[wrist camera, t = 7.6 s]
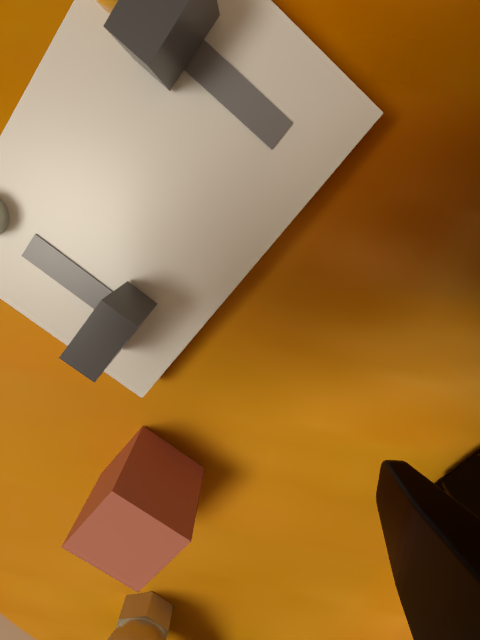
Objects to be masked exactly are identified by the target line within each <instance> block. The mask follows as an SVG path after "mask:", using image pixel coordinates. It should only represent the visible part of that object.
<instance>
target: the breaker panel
mask: <svg viewBox="0 0 480 640" xmlns="http://www.w3.org/2000/svg"><path fill="white" fill-rule="evenodd" d="M117 1H118V0H74V2H73V4H72V5H71V7H70V9H69V11H68V13H67V15H66V16H65V18H64V20H63V22H62V24H61V26H60V28H59V29H58V31H57V33H56V35H55V37H54V39H53V40H52V42H51V44H50V46H49V48H48V50H47V51H46V53H45V55H44V57H43V59H42V61H41V62H40V64H39V66H38V68H37V70H36V72H35V74H34V75H33V77H32V79H31V81H30V83H29V85H28V86H27V88H26V90H25V92H24V94H23V96H22V97H21V99H20V101H19V103H18V105H17V107H16V108H15V110H14V112H13V114H12V116H11V118H10V120H9V121H8V123H7V125H6V127H5V129H4V131H3V132H2V134H1V136H0V299H2V300H3V301H5V302H6V303H7V304H9V305H10V306H12V307H13V308H15V309H16V310H17V311H19V312H20V313H22V314H23V315H24V316H26V317H27V318H29V319H30V320H32V321H33V322H34V323H36V324H37V325H39V326H40V327H42V328H43V329H44V330H46V331H47V332H49V333H50V334H51V335H53V336H54V337H56V338H57V339H59V340H60V341H61V342H63V343H64V344H66V345H67V346H68V345H69V344H70V342H71V341H72V339H73V338H74V337H75V335H76V334H77V333H78V331H79V330H80V328H81V327H82V326H83V324H84V323H85V322H86V320H87V319H88V317H89V316H90V315H91V313H92V312H93V311H94V309H95V308H96V306H97V305H98V304H99V302H100V301H101V300H102V299H103V298H105V297H106V296H107V295H109V294H110V293H112V292H113V291H114V290H116V289H117V288H119V287H120V286H121V285H123V284H124V283H126V282H127V281H128V282H130V283H131V284H132V285H134V286H135V287H136V288H138V289H139V290H140V291H142V292H143V293H144V294H146V295H147V296H148V297H149V298H151V299H152V300H153V301H155V302H156V303H157V305H156V307H155V308H154V309H153V310H152V312H151V313H150V314H149V315H148V317H147V318H146V319H145V321H144V322H143V323H142V324H141V326H140V327H139V328H138V329H137V331H136V332H135V333H134V335H133V336H132V337H131V338H130V340H129V341H128V342H127V344H126V345H125V346H124V347H123V349H122V350H121V351H120V352H119V354H118V355H117V356H116V357H115V358H114V360H113V361H112V362H111V363H110V364H109V365H108V367H107V368H106V369H105V370H104V372H105V373H107V374H108V375H110V376H111V377H113V378H114V379H115V380H117V381H118V382H120V383H121V384H123V385H124V386H125V387H127V388H128V389H130V390H131V391H132V392H134V393H135V394H137V395H138V396H140V397H141V398H143V397H144V395H145V394H146V393H147V392H148V391H149V389H150V388H151V387H152V386H153V385H154V384H155V382H156V381H157V380H158V379H159V378H160V376H161V375H162V374H163V373H164V372H165V371H166V369H167V368H168V367H169V366H170V365H171V363H172V362H173V361H174V360H175V359H176V358H177V356H178V355H179V354H180V353H181V352H182V350H183V349H184V348H185V347H186V346H187V345H188V343H189V342H190V341H191V340H192V339H193V337H194V336H195V335H196V334H197V333H198V332H199V330H200V329H201V328H202V327H203V326H204V324H205V323H206V322H207V321H208V320H209V319H210V317H211V316H212V315H213V314H214V313H215V311H216V310H217V309H218V308H219V307H220V306H221V304H222V303H223V302H224V301H225V300H226V298H227V297H228V296H229V295H230V294H231V293H232V291H233V290H234V289H235V288H236V287H237V285H238V284H239V283H240V282H241V281H242V280H243V278H244V277H245V276H246V275H247V274H248V272H249V271H250V270H251V269H252V268H253V267H254V265H255V264H256V263H257V262H258V261H259V259H260V258H261V257H262V256H263V255H264V254H265V252H266V251H267V250H268V249H269V248H270V246H271V245H272V244H273V243H274V242H275V241H276V239H277V238H278V237H279V236H280V235H281V233H282V232H283V231H284V230H285V229H286V228H287V226H288V225H289V224H290V223H291V222H292V220H293V219H294V218H295V217H296V216H297V215H298V213H299V212H300V211H301V210H302V209H303V207H304V206H305V205H306V204H307V203H308V202H309V200H310V199H311V198H312V197H313V196H314V194H315V193H316V192H317V191H318V190H319V189H320V187H321V186H322V185H323V184H324V183H325V181H326V180H327V179H328V178H329V177H330V176H331V174H332V173H333V172H334V171H335V170H336V168H337V167H338V166H339V165H340V164H341V163H342V161H343V160H344V159H345V158H346V157H347V155H348V154H349V153H350V152H351V151H352V150H353V148H354V147H355V146H356V145H357V144H358V142H359V141H360V140H361V139H362V138H363V137H364V135H365V134H366V133H367V132H368V131H369V129H370V128H371V127H372V126H373V125H374V124H375V122H376V121H377V120H378V119H379V118H380V116H381V115H382V114H383V112H382V111H381V110H380V109H379V108H378V107H377V106H376V105H375V104H374V103H373V102H372V101H371V100H370V99H369V98H368V97H367V96H366V95H365V94H364V93H363V92H362V91H361V90H360V89H359V88H358V87H357V86H356V85H355V84H354V83H353V82H352V81H351V80H350V79H349V78H348V77H347V76H346V75H345V74H344V73H343V72H342V71H341V70H340V69H339V68H338V67H337V66H336V65H335V64H334V63H333V62H332V61H331V60H330V59H329V58H328V57H327V56H326V55H325V54H324V53H323V52H322V51H321V50H320V49H319V48H318V47H317V46H316V45H315V44H314V43H313V42H312V41H311V40H310V39H309V38H308V37H307V36H306V35H305V34H304V33H303V32H302V31H301V30H300V29H299V28H298V27H297V26H296V25H295V24H294V23H293V22H292V21H291V20H290V19H289V18H288V17H287V16H286V15H285V14H284V13H283V12H282V11H281V10H280V9H279V8H278V7H277V6H276V5H275V4H274V3H273V2H272V1H271V0H217V3H218V8H219V13H220V16H219V17H218V19H217V20H216V22H215V23H214V25H213V26H212V28H211V29H210V31H209V32H208V34H207V36H206V37H205V39H204V40H203V42H202V43H201V45H200V46H199V48H198V49H197V51H196V52H195V54H194V55H193V57H192V58H191V60H190V61H189V63H188V64H187V66H186V67H185V69H184V70H183V72H182V73H181V75H180V76H179V78H178V79H177V81H176V83H175V84H174V86H173V87H172V89H171V90H170V91H169V90H168V89H167V88H166V87H164V86H163V85H162V84H161V83H160V82H159V81H158V80H157V79H155V78H154V77H153V76H152V75H151V74H150V73H149V72H148V71H147V70H145V69H144V68H143V67H142V66H141V65H140V64H139V63H138V62H136V61H135V60H134V59H133V58H132V57H131V56H130V54H129V53H128V52H127V51H126V50H125V49H124V48H123V47H122V46H121V45H120V44H119V43H118V42H117V40H116V39H115V38H114V37H113V36H112V35H111V34H110V33H109V32H108V31H107V30H106V29H105V28H104V24H105V22H106V20H107V19H108V17H109V15H110V13H111V12H112V10H113V8H114V6H115V5H116V3H117Z"/></svg>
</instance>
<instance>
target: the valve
mask: <svg viewBox="0 0 480 640" xmlns="http://www.w3.org/2000/svg"><path fill="white" fill-rule="evenodd" d="M172 610H173V606H172V605H171V604H169V603H168V602H167V601H165V600H164V599H163V598H161V597H160V596H158V595H157V594H156V593H154V592H145V593H138V594H132V595H127V596H126V598H125V601H124V604H123V607H122V610H121V613H120V616H119V619H118V623H117V627H116V630H115V631H114V632H113V633H112V634H111V635H110V637H109V638H108V640H166V637H167V634H168V631H169V626H170V621H171V616H172Z"/></svg>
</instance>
